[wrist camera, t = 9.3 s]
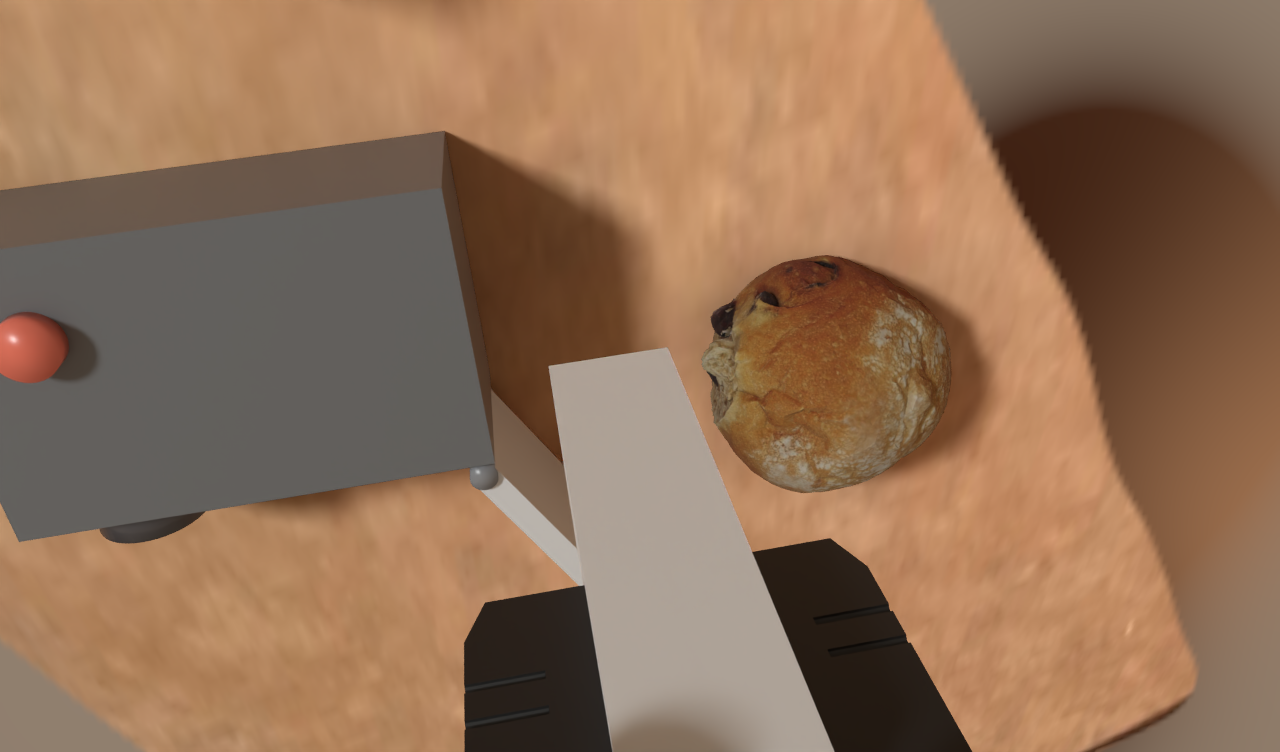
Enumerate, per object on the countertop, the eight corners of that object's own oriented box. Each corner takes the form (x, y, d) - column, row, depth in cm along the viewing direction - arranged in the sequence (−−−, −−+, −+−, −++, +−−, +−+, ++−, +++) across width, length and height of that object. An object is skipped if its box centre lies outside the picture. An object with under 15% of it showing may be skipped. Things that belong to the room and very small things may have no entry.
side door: (601, 533, 46) (620, 628, 40) (463, 392, 42) (464, 477, 36) (629, 513, 46) (653, 607, 40) (494, 369, 41) (499, 452, 36)
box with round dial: (-15, 192, 35) (-129, 275, 29) (444, 131, 37) (440, 195, 30) (101, 470, 41) (29, 595, 34) (496, 407, 42) (503, 514, 36)
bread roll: (753, 431, 49) (845, 558, 45) (632, 361, 42) (729, 505, 37) (907, 289, 47) (1022, 406, 42) (810, 187, 39) (938, 315, 34)
